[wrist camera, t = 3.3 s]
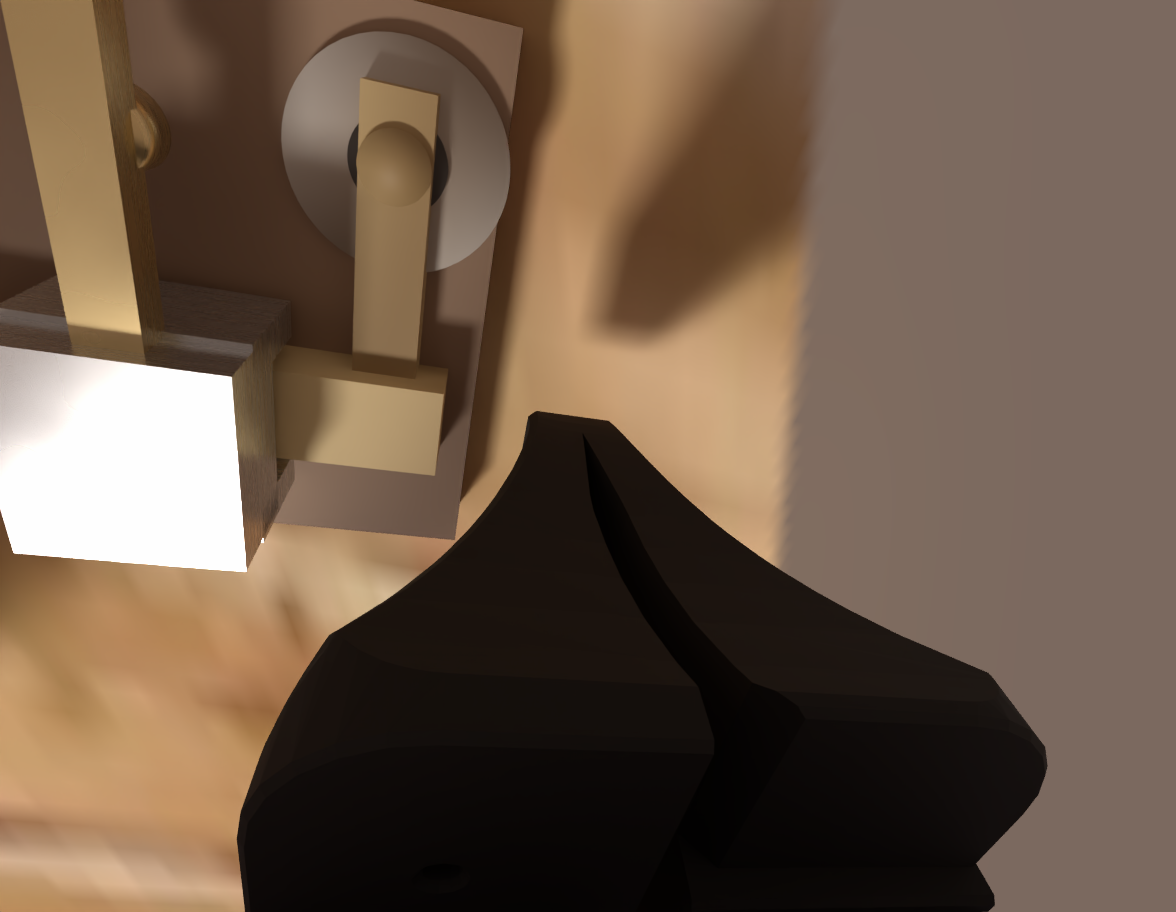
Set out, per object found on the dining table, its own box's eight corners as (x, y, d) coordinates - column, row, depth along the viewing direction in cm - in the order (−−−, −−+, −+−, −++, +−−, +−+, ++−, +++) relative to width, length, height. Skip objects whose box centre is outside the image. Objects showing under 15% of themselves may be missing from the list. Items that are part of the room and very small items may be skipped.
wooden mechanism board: (-335, 421, 12) (-495, 492, 10) (-752, -294, 7) (-1198, -415, 5) (463, 506, 14) (456, 573, 13) (527, 32, 10) (533, 27, 8)
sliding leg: (110, 459, 11) (14, 559, 9) (14, -41, 8) (-183, -78, 6) (294, 478, 12) (247, 576, 10) (284, 23, 8) (203, 13, 6)
